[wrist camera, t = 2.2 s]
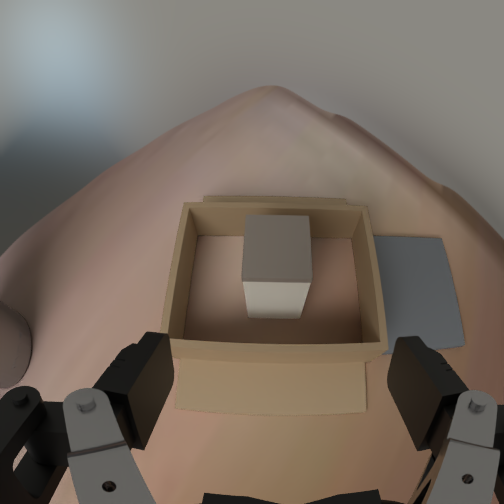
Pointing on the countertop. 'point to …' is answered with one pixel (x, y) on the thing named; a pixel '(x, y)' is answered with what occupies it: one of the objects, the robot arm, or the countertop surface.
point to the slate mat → (418, 291)
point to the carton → (274, 355)
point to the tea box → (276, 265)
